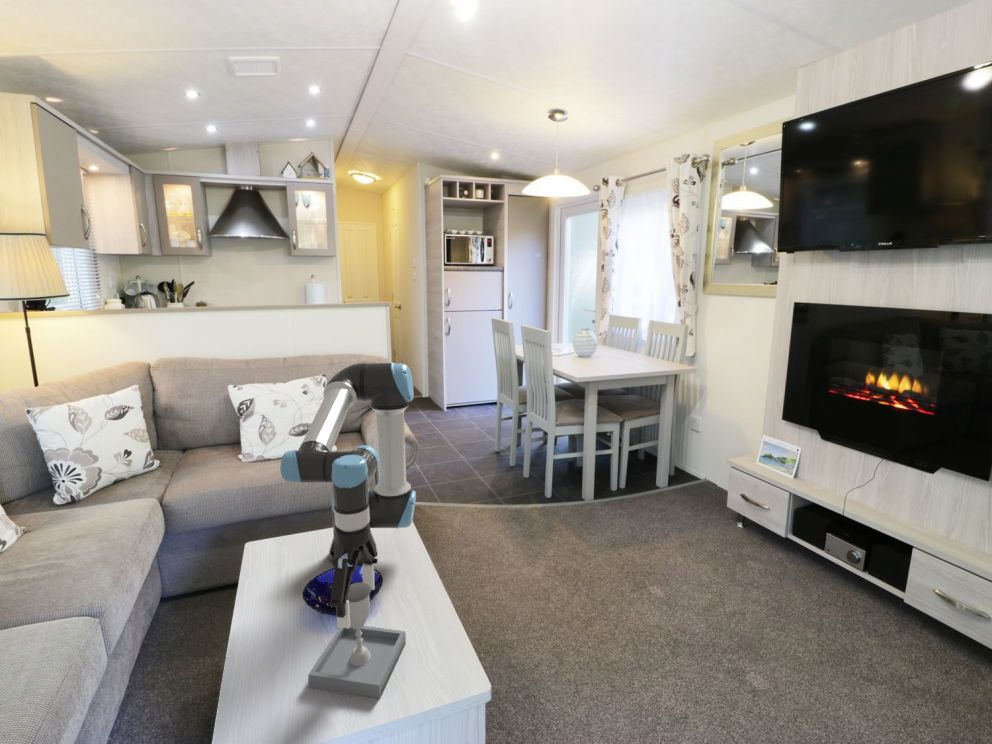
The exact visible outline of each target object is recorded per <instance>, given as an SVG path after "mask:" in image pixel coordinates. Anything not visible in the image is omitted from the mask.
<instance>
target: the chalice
mask: <svg viewBox="0 0 992 744" xmlns="http://www.w3.org/2000/svg"><path fill="white" fill-rule="evenodd" d="M371 593H372V590H371V587H370V585H368V584H366V583H363V582H355V583H352V584H350V589H349V593H348V597H347V600H349V610H350V625H351V626H352V628H353V629H356V630H357V631H356V634H355V635H356V636H357V639H356V641H355V642H356V643H357V645H358V646H357V647H355V648H354V650H353V651H352V654H351V656H350V660H349V661H350V663H351V664H352V665H354V666H362V665H364V664H366V663H367V662H368V661H369V660H370V658H371V654H370V652H369V650H368V649H367V647H365V646H363V645H361V643H362V641H363V639H362V638H361V635H362V632H361V630H360V628H362V627H363V626H365V623H366V621H367V619H368V617H369V613H370V610H371V604H370V602H371V600H370V594H371Z"/></svg>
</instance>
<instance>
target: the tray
mask: <svg viewBox="0 0 992 744" xmlns="http://www.w3.org/2000/svg"><path fill="white" fill-rule="evenodd" d="M360 630H361V632H362V635H361V638H362V639H363V641H362V643H361V645H363V646H365V647H367V649H368V650H369V652H370V654H371V658H370V660H369V661H368V662H367V663H366V664H364V665H362V666H354V665H352V664H351V663H350V661H349V660H350V656H351V654H352V651H353V650H354V648H355V647H357V646H358V645H357V643H356V642H355V641H356V639H357V636H356V635H355V634H356V631H357V630H356V629H353V628H352V626H351V625H350V628H349V629H348V628H341V627H338V630H337V631H336V632H335V634H334V636H333V637H332V638H331V640H330V642H328V645H326V647H325V649H324V650H323V652H322V654H321V655H320V656H319V658H318V659H317V661H316V662H315V664H314V665H313V667H312V668H311V669H310V671H309V673H308V674H307V677H308V679H307V680H308V688H310V689H315V690H322V691H329V692H334V693H341V694H346V695H347V694H349V695H354V696H359V697H367V698H373V699H379V700H380V699H381V698H382V695H383V694H384V690H386V687H387V685H388V683H389V680H390V678H391V676H392V674H393V673H394V669H395V668H396V665H397V662H398V661H399V659H400V657H401V654H402V652H403V650H404V649H405V646H406V643H407V642H406V640H407V639H406V638H407V637H406V635H407V634H406V631H405V630H399V629H398V630H397V629H389V628H384V627H383V628H382V627H376V626H368V625H367V626H366V625H364V626H363V627H362V628H360Z"/></svg>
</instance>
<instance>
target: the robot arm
mask: <svg viewBox="0 0 992 744" xmlns="http://www.w3.org/2000/svg"><path fill="white" fill-rule="evenodd" d="M414 388H415V387H414V381H413V376H412V373H411V369H410V368H409V366H408V365H407V364H405V363H396V362H376V363H375V362H374V363H369V362H368V363H366V362H360V363H354V364H351V365H348V366H346V367H345V368H343V369H341V370H340V371H338V372H337V373H335V375H333V376H332V377H331V378H330V380H329V381H328V382H327V383H326V386H325V387H324V389H323V400H322V402H321V403H320V406H319V408H318V410H317V411H316V414H315V416H314V418H313V420H312V422H311V424H310V426H309V427H308V430H307V431H306V434H305V436H304V438H303V441H302V443H301V445H299V448H298V450H296V449H294V450H287V451H286V452H284V454H283V455H282V456H281V460H280V467H279V468H280V475H281V478H282V480H284V481H285V482H288V483H299V484H302V483H303V484H305V483H332V494H333V495H332V496H331V497H332V498H331V507H330V509H331V514H332V515H331V516H332V530H333V538H332V540H331V544H330V548H329V551H328V552H329V553H328V556H329V557H328V558H329V562H330V563H331V564H332V565H334V572H333V581H332V586H331V593H330V600H329V607H335V610H336V612H335V613H336V624H337V626H336V627H337V628H340V627H341V628H348V629H349V628H350V610H349V600H347V597H348V593H349V589H350V585H351V583H352V579H353V577H354V576H353V575H354V572H356V570H357V565H361V570H362V583H366V584H368V585H370V587H371V591H375V590H376V589H375V588H376V587H375V568H374V566H375V565H377V564H378V558H377V557H378V550H377V542H376V541H375V538H374V537H373V536H374V535H373V534H372V529H400V528H401V529H402V528H403V529H404V528H409V527H410V526H411V525H412V524H413V520H414V514H415V507H416V501H417V492H416V491H415V490H413V489H412V486H411V483H410V482H408V481H407V470H406V467H407V466H406V436H405V435H406V434H405V433H406V432H405V410H406V409H407V408H409V405H410V402H412V401H413V400H414V397H415V394H414V393H415V392H414ZM360 401H362V402H363V401H364V402H370V407H371V409H372V410H373V411H374V412H375V414H376V415H375V418H376V419H375V420H376V440H377V445H376V446H377V450H376V449H375V448H374V447H372V446H371V445H366V444H364V445H363V444H362V445H359V446H357V447H354V449H352V450H333V448H334V446H335V443H336V441H337V438H338V436H339V434H340V431H341V429H342V426H343V424H344V421H345V420H346V417H347V414H348V412H349V410H350V408H352V407H353V406H354V405H355V403H356V402H360ZM377 470H378V483H377V484H376V485H375V486H374V490H370V488H369V486H370V484H371V482H372V479H373V478H374V476H375V474H376V473H377ZM374 564H375V565H374ZM348 565H353V566H352V567H348Z"/></svg>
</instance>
